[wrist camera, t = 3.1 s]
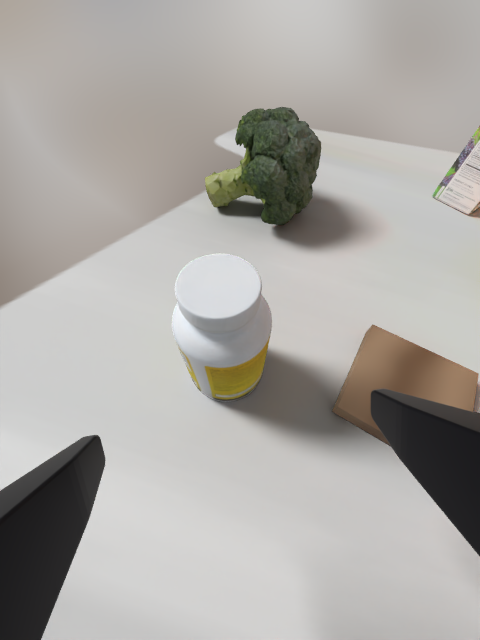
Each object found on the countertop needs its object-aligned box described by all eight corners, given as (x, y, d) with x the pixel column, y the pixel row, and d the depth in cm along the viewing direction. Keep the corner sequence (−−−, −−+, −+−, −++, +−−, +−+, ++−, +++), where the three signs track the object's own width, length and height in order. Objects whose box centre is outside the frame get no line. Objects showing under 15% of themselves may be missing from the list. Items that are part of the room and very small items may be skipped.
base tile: (465, 379, 23) (478, 373, 22) (448, 480, 19) (463, 479, 18) (366, 332, 26) (372, 324, 24) (331, 411, 22) (337, 406, 20)
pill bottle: (277, 371, 24) (305, 288, 14) (221, 420, 21) (208, 362, 11) (231, 324, 26) (227, 227, 16) (176, 364, 24) (134, 278, 14)
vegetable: (220, 157, 40) (321, 111, 33) (239, 241, 43) (335, 215, 36) (170, 128, 29) (302, 53, 23) (198, 243, 32) (324, 205, 25)
